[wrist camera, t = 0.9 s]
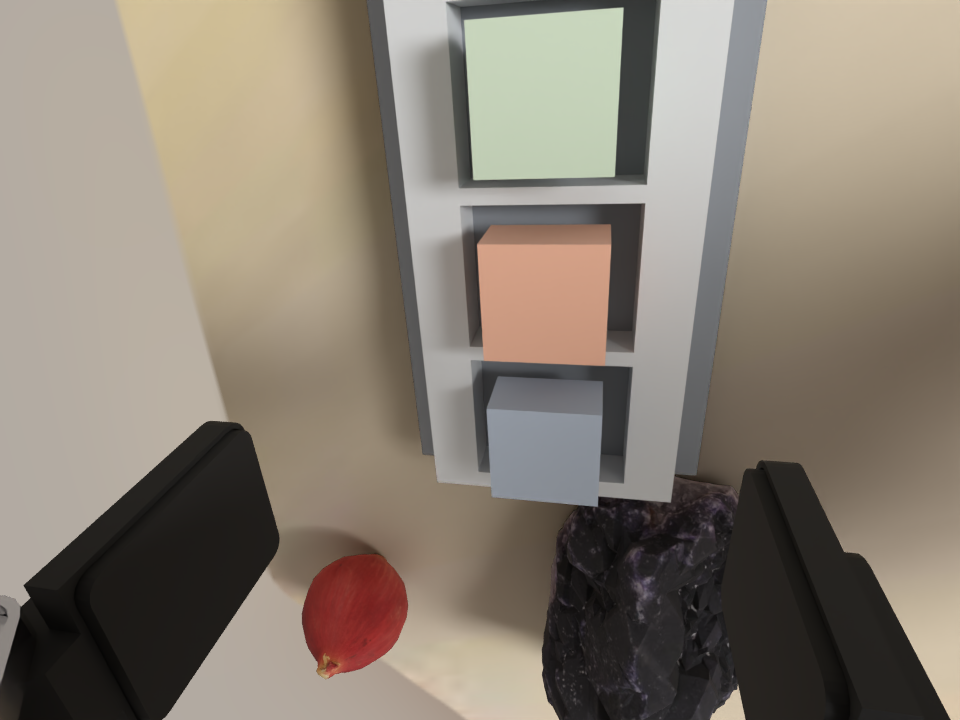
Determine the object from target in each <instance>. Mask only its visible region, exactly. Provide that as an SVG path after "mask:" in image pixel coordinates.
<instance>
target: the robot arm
mask: <svg viewBox="0 0 960 720" xmlns="http://www.w3.org/2000/svg"><path fill="white" fill-rule="evenodd" d="M278 546H279V533H278V529H277V526H276V522H275V518H274V515H273V511H272V508H271V504H270V501H269V497H268V494H267V490H266V487H265V483H264V480H263V476H262V473H261V469H260V466H259V462H258V459H257V455H256V452H255V448H254V444H253V441H252V438H251V435H250V434H249V433H248V432H247V431H245V430H244V428H243V427H242V426H241V425H240V424H238V423H233V422H220V421H208V422H206V423H204V424H203V425H202V426H200V427H199V428H198V429H197V430H196V431H195V432H194V433H193V434H192V435H190V436H189V437H188V438H187V439H186V440H185V441H184V442H183V443H182V444H180V445H179V446H178V447H177V448H176V449H175V450H174V451H173V452H171V453H170V454H169V455H168V456H167V457H166V458H165V459H164V460H163V461H161V462H160V463H159V464H158V465H157V466H156V467H155V468H154V469H153V470H152V471H150V472H149V473H148V474H147V475H146V476H145V477H144V478H143V479H141V480H140V481H139V482H138V483H137V484H136V485H135V486H134V487H133V488H131V489H130V490H129V491H128V492H127V493H126V494H125V495H124V496H122V498H120V499H119V500H118V501H117V502H116V503H115V504H114V505H112V506H111V507H110V508H109V509H108V510H107V511H106V512H105V513H104V514H103V515H101V516H100V517H99V518H98V519H97V520H96V521H95V522H94V523H92V524H91V525H90V526H89V527H88V528H87V529H86V530H85V531H84V532H82V533H81V534H80V535H79V536H78V537H77V538H76V539H75V540H74V541H72V542H71V543H70V544H69V545H68V546H67V547H66V548H65V549H63V550H62V551H61V552H60V553H59V554H58V555H57V556H56V557H55V558H53V559H52V560H51V561H50V562H49V563H48V564H47V565H46V566H45V567H43V568H42V569H41V570H40V571H39V572H38V573H37V574H36V575H35V576H33V577H32V578H31V579H30V580H29V581H28V582H27V583H26V584H25V585H24V587H25V589H26V591H27V592H28V594H29V596H30V597H31V598H30V599H29V600H28V601H27V602H26V603H25V604H24V605H23V606H22V607H21V606H20V605H19V604H18V603H17V601H16V600H15V599H14V598H11V597H7V596H0V720H162V719H163V718H165V717H166V716H167V714H168V713H169V712H170V710H171V709H172V707H173V706H174V704H175V703H176V701H177V700H178V698H179V697H180V695H181V694H182V692H183V691H184V690H185V688H186V687H187V685H188V683H189V682H190V680H191V679H192V677H193V676H194V675H195V673H196V672H197V670H198V669H199V667H200V666H201V664H202V663H203V661H204V660H205V658H206V657H207V655H208V654H209V652H210V651H211V649H212V648H213V646H214V645H215V643H216V642H217V640H218V639H219V637H220V636H221V634H222V633H223V631H224V630H225V628H226V627H227V625H228V624H229V622H230V621H231V620H232V618H233V616H234V615H235V614H236V612H237V611H238V609H239V608H240V606H241V604H242V603H243V601H244V600H245V599H246V597H247V596H248V594H249V593H250V591H251V590H252V588H253V587H254V585H255V584H256V582H257V581H258V579H259V578H260V576H261V575H262V573H263V572H264V570H265V569H266V567H267V566H268V565H269V563H270V562H271V560H272V559H273V557H274V556H275V554H276V552H277V549H278ZM721 604H722V610H723V615H724V620H725V624H726V629H727V634H728V639H729V643H730V648H731V653H732V657H733V662H734V667H735V672H736V676H737V681H738V686H739V690H740V695H741V700H742V704H743V709H744V714H745V719H746V720H950V718H949V716H948V714H947V712H946V710H945V708H944V706H943V704H942V703H941V701H940V699H939V697H938V695H937V693H936V691H935V689H934V687H933V685H932V683H931V682H930V680H929V678H928V676H927V674H926V672H925V670H924V668H923V666H922V664H921V662H920V661H919V659H918V657H917V655H916V653H915V651H914V649H913V647H912V645H911V643H910V641H909V640H908V638H907V636H906V634H905V632H904V630H903V628H902V626H901V624H900V622H899V620H898V619H897V617H896V615H895V613H894V611H893V609H892V607H891V605H890V603H889V601H888V599H887V598H886V596H885V594H884V592H883V590H882V588H881V586H880V584H879V582H878V580H877V578H876V577H875V575H874V573H873V571H872V569H871V567H870V566H869V564H868V563H867V561H866V560H865V558H863V557H862V556H861V555H859V554H856V553H846V552H844V551H843V549H842V547H841V545H840V543H839V541H838V539H837V537H836V535H835V533H834V531H833V529H832V526H831V524H830V522H829V520H828V518H827V516H826V514H825V512H824V510H823V508H822V506H821V504H820V502H819V500H818V498H817V496H816V494H815V491H814V489H813V487H812V485H811V483H810V481H809V479H808V477H807V475H806V473H805V471H804V469H803V467H802V466H801V465H800V464H798V463H789V462H776V461H760V462H759V463H758V465H757V468H756V469H746V470H745V472H744V475H743V480H742V485H741V490H740V495H739V500H738V505H737V510H736V515H735V520H734V525H733V530H732V535H731V540H730V545H729V550H728V555H727V560H726V565H725V570H724V575H723V580H722V586H721Z"/></svg>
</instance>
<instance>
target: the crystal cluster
mask: <svg viewBox="0 0 960 720" xmlns="http://www.w3.org/2000/svg"><path fill="white" fill-rule="evenodd" d="M738 500H739V496H738V494H737V492H736V491H735V489H734V488H733V487H732V486H727V485H714V484H710V483H705V482H696V481H691V480H687V479H682V478H679V477H676V476H674V481H673V489H672V497H671V503H670V502H658V501H647V500H636V499H624V498H613V497H601V496H598V507H595V506H584V505H579V507H578V509H577V510H574V511H573V513H572V514H571V515H570V517H569V518H568V519H567V520H566V521H565V523H564V526H563V528H562V529H561V530H560V531H559V533H558V536H557V544H556V555H555V558H554V560H553V564H552V574H551V591H550V598H549V607H548V611H547V621H546V627H545V631H544V643H543V647H542V663H543V672H542V677H543V682H544V687H545V691H546V695H547V699H548V702H549V703H550V704H551V705H552V706H553V708H554V710H555V712H556V714H557V716H558V718H559V720H710V718H711V715H712V713H715V711H716V709H717V708H719V707H721V706H722V705H724V704H725V701H726V700H727V699H728V698H730V695H731V693H732V692H733V690H737V686H738V681H737V676H736V672H735V667H734V662H733V657H732V653H731V648H730V643H729V639H728V634H727V629H726V624H725V620H724V615H723V610H722V604H721V586H722V580H723V575H724V570H725V565H726V560H727V555H728V550H729V545H730V540H731V535H732V530H733V525H734V520H735V515H736V510H737V505H738Z"/></svg>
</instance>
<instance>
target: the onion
mask: <svg viewBox="0 0 960 720" xmlns="http://www.w3.org/2000/svg"><path fill="white" fill-rule="evenodd" d="M407 610H408V601H407V595H406V590H405V585H404V582H403V581H402V579H401V578H400V576H399V575H398V573H397V572H396V570H395V569H394V568H393V567H392V566H391V565H390V564H389V563H388V562H387V560H386V559H385V558H384V557H383V556H381V555H377V554H370V555H368V554H362V555H354V556H347V557H343V558H341V559H339V560H337V561H335V562H333V563H331V564H330V565H328V566H326V567H325V568H323V569H322V570H321V571H320V572H319V574H318V575H317V576H316V577H315V578H314V579H313V581H312V584H311V586H310V588H309V590H308V593H307V596H306V599H305V602H304V607H303V611H302V625H303V630H304V634H305V639H306V643H307V646H308V648H309V650H310V651H311V653H312V655H313V656H314V658H315V659H316V661H317V662H318V668H317V673H318V675H320V676H321V677H323V678H324V679H327V678H330V677H332V676H333V675H334V674H339V673H346V672H350V671H354V670H358V669H361V668H363V667H365V666H367V665H369V664H370V663H372V662H374V661H375V660H377V659H378V658H380V657H381V656H383V655H385V654H386V653H387V652H388V651H389V650H390V649H391V648H392V647H393V645H394V644H395V643H396V641H397V640H398V638H399V635H400V633H401V630H402V628H403V625H404V623H405V620H406V618H407Z"/></svg>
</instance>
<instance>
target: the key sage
mask: <svg viewBox="0 0 960 720" xmlns="http://www.w3.org/2000/svg"><path fill="white" fill-rule="evenodd" d="M623 8H624V7H623ZM623 8H610V9H598V10H585V11H572V12H560V13H547V14H535V15H522V16H509V17H497V18H484V19H472V20H464V27H465V44H466V62H467V79H468V96H469V113H470V131H471V148H472V165H473V180H501V179H546V178H592V177H615V163H616V144H617V124H618V105H619V86H620V66H621V47H622V28H623Z"/></svg>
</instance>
